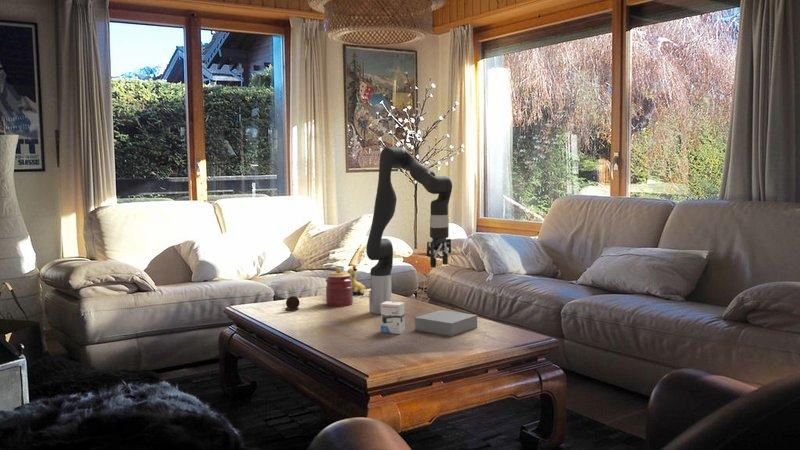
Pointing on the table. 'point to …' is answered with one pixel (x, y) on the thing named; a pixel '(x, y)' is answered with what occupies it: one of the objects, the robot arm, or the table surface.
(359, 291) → the stuffed giraffe
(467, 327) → the plinth
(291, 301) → the dark brown round ball
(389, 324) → the ink box
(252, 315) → the table surface
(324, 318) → the table surface
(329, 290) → the canister
